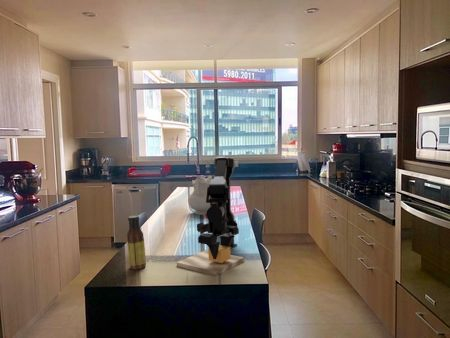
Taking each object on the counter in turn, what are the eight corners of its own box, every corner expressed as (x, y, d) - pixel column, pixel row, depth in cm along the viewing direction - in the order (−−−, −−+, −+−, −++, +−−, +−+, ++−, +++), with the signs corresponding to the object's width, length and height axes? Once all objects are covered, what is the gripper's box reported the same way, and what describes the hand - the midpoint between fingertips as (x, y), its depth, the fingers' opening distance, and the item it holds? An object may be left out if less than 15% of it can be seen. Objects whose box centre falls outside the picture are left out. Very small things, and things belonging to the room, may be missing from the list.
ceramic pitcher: (216, 218, 228) (218, 178, 226) (185, 216, 228) (186, 176, 226) (217, 211, 250) (219, 175, 248) (189, 210, 250) (190, 173, 248)
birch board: (205, 253, 155) (205, 241, 155) (243, 261, 144) (243, 248, 144) (176, 266, 140) (176, 253, 140) (216, 275, 129) (215, 262, 129)
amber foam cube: (218, 255, 144) (217, 244, 143) (230, 258, 140) (230, 246, 140) (208, 260, 139) (208, 248, 138) (221, 263, 135) (221, 251, 135)
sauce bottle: (147, 264, 143) (145, 214, 142) (144, 270, 137) (142, 217, 135) (130, 265, 143) (128, 214, 141) (126, 270, 137) (124, 218, 135)
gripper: (216, 210, 150) (217, 247, 152) (186, 218, 135) (187, 260, 136) (239, 212, 144) (239, 251, 145) (209, 222, 129) (211, 265, 130)
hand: (219, 256), depth 139 cm, fingers closed on amber foam cube, 6 cm apart
